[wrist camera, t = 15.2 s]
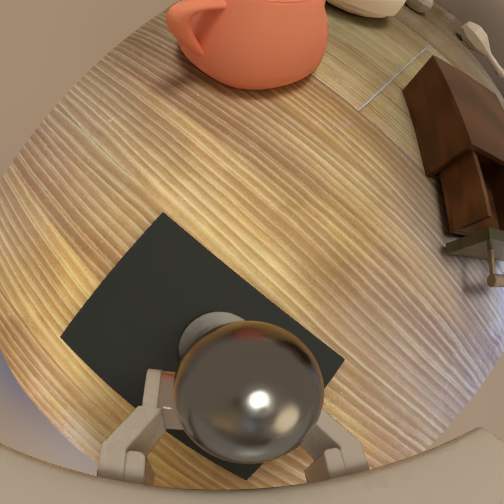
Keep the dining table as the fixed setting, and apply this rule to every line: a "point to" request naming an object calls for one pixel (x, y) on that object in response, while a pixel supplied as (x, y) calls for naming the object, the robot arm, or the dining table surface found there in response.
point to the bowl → (369, 7)
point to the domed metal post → (245, 388)
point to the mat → (169, 316)
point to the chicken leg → (479, 44)
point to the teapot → (251, 39)
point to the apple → (420, 5)
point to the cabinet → (453, 116)
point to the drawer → (476, 209)
